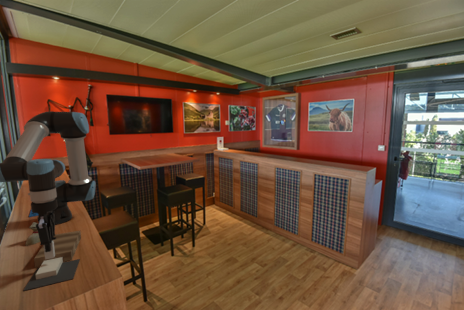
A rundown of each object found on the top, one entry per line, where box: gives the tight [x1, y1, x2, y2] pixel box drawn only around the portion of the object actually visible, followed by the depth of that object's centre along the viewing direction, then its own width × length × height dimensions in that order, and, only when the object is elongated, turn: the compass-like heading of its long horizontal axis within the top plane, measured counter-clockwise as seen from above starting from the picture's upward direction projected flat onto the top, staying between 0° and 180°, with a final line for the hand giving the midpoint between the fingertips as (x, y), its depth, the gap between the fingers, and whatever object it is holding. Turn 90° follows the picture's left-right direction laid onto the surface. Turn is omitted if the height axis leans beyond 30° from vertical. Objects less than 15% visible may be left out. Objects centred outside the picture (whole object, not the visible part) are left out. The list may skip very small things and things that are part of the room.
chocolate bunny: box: [25, 222, 40, 247], centre depth 104 cm, size 6×8×10 cm
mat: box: [22, 258, 81, 292], centre depth 82 cm, size 13×14×1 cm
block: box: [36, 257, 63, 279], centre depth 84 cm, size 9×6×2 cm, turn 26°
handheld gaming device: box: [28, 209, 39, 218], centre depth 139 cm, size 8×1×15 cm
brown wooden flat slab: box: [33, 230, 82, 269], centre depth 96 cm, size 20×12×4 cm, turn 26°
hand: (50, 257), depth 84 cm, fingers closed
